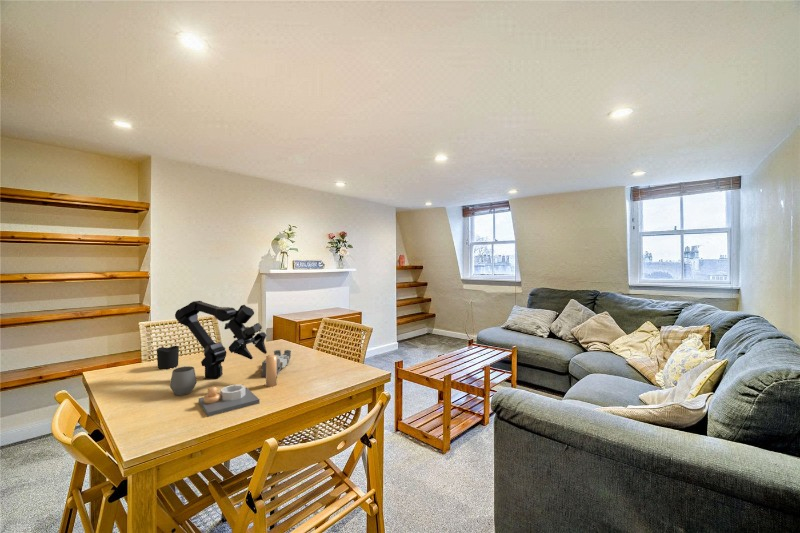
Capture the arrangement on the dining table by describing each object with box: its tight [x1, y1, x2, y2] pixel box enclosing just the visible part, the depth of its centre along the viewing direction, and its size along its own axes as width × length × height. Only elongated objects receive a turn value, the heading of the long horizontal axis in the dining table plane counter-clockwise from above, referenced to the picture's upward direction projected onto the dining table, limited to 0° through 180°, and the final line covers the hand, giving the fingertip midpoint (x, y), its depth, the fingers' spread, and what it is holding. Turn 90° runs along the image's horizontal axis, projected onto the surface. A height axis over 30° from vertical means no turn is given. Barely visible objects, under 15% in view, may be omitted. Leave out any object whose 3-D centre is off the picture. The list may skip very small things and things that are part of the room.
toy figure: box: [261, 349, 292, 378], centre depth 179 cm, size 11×7×30 cm
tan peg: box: [265, 354, 278, 388], centre depth 153 cm, size 4×4×13 cm
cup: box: [169, 365, 197, 396], centre depth 143 cm, size 10×9×10 cm
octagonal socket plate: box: [198, 384, 260, 417], centre depth 134 cm, size 16×18×6 cm
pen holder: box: [156, 345, 180, 370], centre depth 176 cm, size 9×9×10 cm
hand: (259, 356), depth 155 cm, fingers open, 9 cm apart
